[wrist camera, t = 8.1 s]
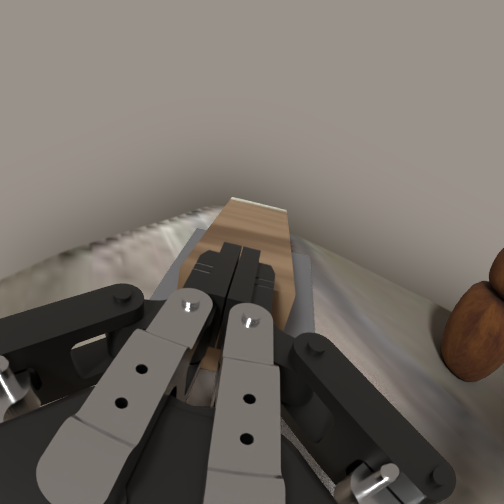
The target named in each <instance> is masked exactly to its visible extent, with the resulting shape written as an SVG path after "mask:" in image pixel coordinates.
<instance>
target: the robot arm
mask: <svg viewBox="0 0 504 504" xmlns="http://www.w3.org/2000/svg"><path fill="white" fill-rule="evenodd" d="M241 249H242V246H241V245H237V244H233V243H229V242H224V243H223V246H222V248H221V250H220V252H215V251H211V250H208V251H206V252H204V253H203V254H201V255H200V256H199V258H198V260H197V262H196V264H195V266H194V267H193V269H192V271H191V273H190V275H189V277H188V279H187V280H186V282H185V284H184V286H183V288H182V289H178V290H176V291H174V292H173V293H172V294H171V295H170V296H169V298H168V299H167V300H144V295H143V293H142V291H141V290H140V289H139V288H137V287H135V286H133V285H130V284H114V285H111V286H107V287H104V288H101V289H97V290H94V291H91V292H87V293H84V294H81V295H77V296H74V297H71V298H67V299H64V300H61V301H57V302H54V303H51V304H47V305H44V306H41V307H37V308H34V309H31V310H27V311H24V312H21V313H18V314H14V315H11V316H8V317H5V318H1V319H0V504H437V503H439V502H440V501H442V500H444V499H446V498H447V497H449V496H450V495H451V494H452V492H453V490H454V488H455V484H456V477H455V473H454V470H453V468H452V467H451V465H450V464H449V463H448V462H447V461H446V460H445V459H444V458H443V457H442V456H441V455H440V454H439V453H438V452H437V451H436V450H435V449H434V448H433V447H432V446H431V445H430V444H429V443H428V442H427V440H426V439H425V438H424V437H423V436H422V435H421V434H420V433H419V432H418V431H417V430H416V429H415V428H414V427H413V426H412V425H411V424H410V423H409V422H408V421H407V420H406V419H405V418H404V417H403V416H402V415H401V414H400V413H399V412H398V411H397V410H396V408H395V407H394V406H393V405H392V404H391V403H390V402H389V401H388V400H387V399H386V398H385V397H384V396H383V395H382V394H381V393H380V392H379V391H378V390H377V389H376V388H375V387H374V386H373V385H372V384H371V383H370V382H369V380H368V379H367V378H366V377H365V376H364V375H363V374H362V373H361V372H360V371H359V370H358V369H357V368H356V367H355V366H354V365H353V364H352V363H351V362H350V361H349V360H348V359H347V358H346V357H345V356H344V355H343V353H342V352H341V351H340V350H339V349H338V348H337V347H336V346H335V345H334V344H333V343H332V342H331V341H330V340H329V339H327V338H326V337H324V336H322V335H320V334H317V333H311V332H307V333H302V334H300V335H298V336H297V337H296V338H294V337H292V336H290V335H288V334H286V333H284V332H283V331H281V330H280V329H279V328H277V327H276V325H275V324H274V323H273V318H272V316H271V309H272V300H273V291H274V282H275V272H274V270H273V268H272V266H271V265H267V264H263V263H259V258H260V253H261V250H258V249H254V248H250V247H246V246H243V249H242V252H241ZM240 254H241V256H240ZM239 258H240V259H239ZM220 328H221V329H220ZM219 331H220V334H219ZM102 334H105V335H106V338H103V339H100V340H97V341H95V342H92V343H89V344H86V345H83V346H81V347H78V348H75V349H72V347H73V346H74V345H75V344H77V343H79V342H82V341H85V340H88V339H91V338H93V337H96V336H99V335H102ZM218 335H219V338H218ZM217 338H218V343H217V348H216V349H220V350H221V352H220V356H219V360H218V365H217V370H216V376H215V382H214V388H213V394H212V400H211V406H210V407H198V406H191V405H188V404H186V403H185V402H186V400H187V397H188V395H189V393H190V390H191V388H192V386H193V384H194V381H195V379H196V377H197V374H198V372H199V370H200V367H201V365H202V362H203V358H204V357H205V355H206V352H207V349H208V347H212V348H215V345H216V341H217ZM71 349H72V350H71ZM96 384H97V385H96ZM94 385H96V386H94ZM91 386H92V387H91ZM68 395H69V396H68ZM63 397H64V398H63ZM61 398H62V399H61ZM58 399H59V400H58ZM55 400H57V401H55ZM53 401H55V402H53ZM50 402H52V403H50ZM47 403H50V404H47ZM44 404H47V405H45V406H42V405H44ZM40 406H42V407H40ZM280 416H281V417H282V418H283V420H284V421H285V422H286V424H287V425H288V426H289V427H290V429H291V430H292V431H293V433H294V434H295V435H296V437H297V438H298V439H299V440H300V442H301V443H302V444H303V446H304V447H305V448H306V449H307V451H308V452H309V453H310V454H311V456H312V457H313V458H314V459H315V461H316V462H317V463H318V464H319V466H320V467H321V468H322V469H323V470H324V472H325V473H326V474H327V475H328V477H329V478H330V479H331V480H332V481H333V483H334V484H335V485H336V487H335V490H334V497H333V496H332V495H331V493H330V492H329V491H328V490H327V488H326V487H325V486H324V484H323V483H322V482H321V480H320V479H319V478H318V476H317V475H316V474H315V472H314V471H313V470H312V468H311V467H310V466H309V464H308V463H307V462H306V460H305V459H304V458H303V456H302V455H301V453H300V452H299V451H298V449H297V448H296V447H295V446H294V445H293V444H292V443H291V442H290V441H289V440H288V439H287V438H286V437H284V436H283V435H282V434H281V428H280Z"/></svg>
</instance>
